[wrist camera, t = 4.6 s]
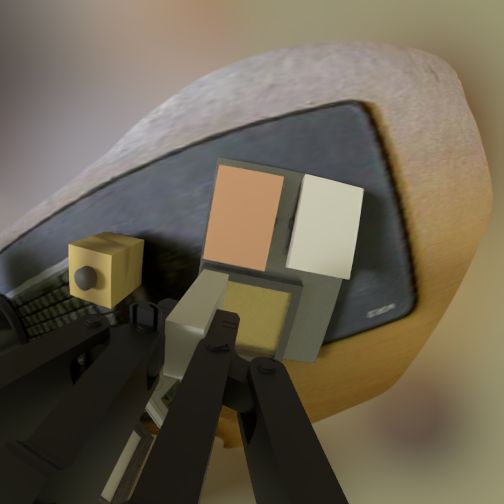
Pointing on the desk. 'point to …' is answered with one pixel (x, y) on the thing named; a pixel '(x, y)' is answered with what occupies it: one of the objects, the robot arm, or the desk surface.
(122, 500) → the picture frame
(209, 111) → the desk surface
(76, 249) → the tan wooden block
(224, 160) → the panel
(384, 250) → the desk surface
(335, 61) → the desk surface
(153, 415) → the digital clock
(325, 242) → the rocker plain
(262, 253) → the orange tan rectangular block
